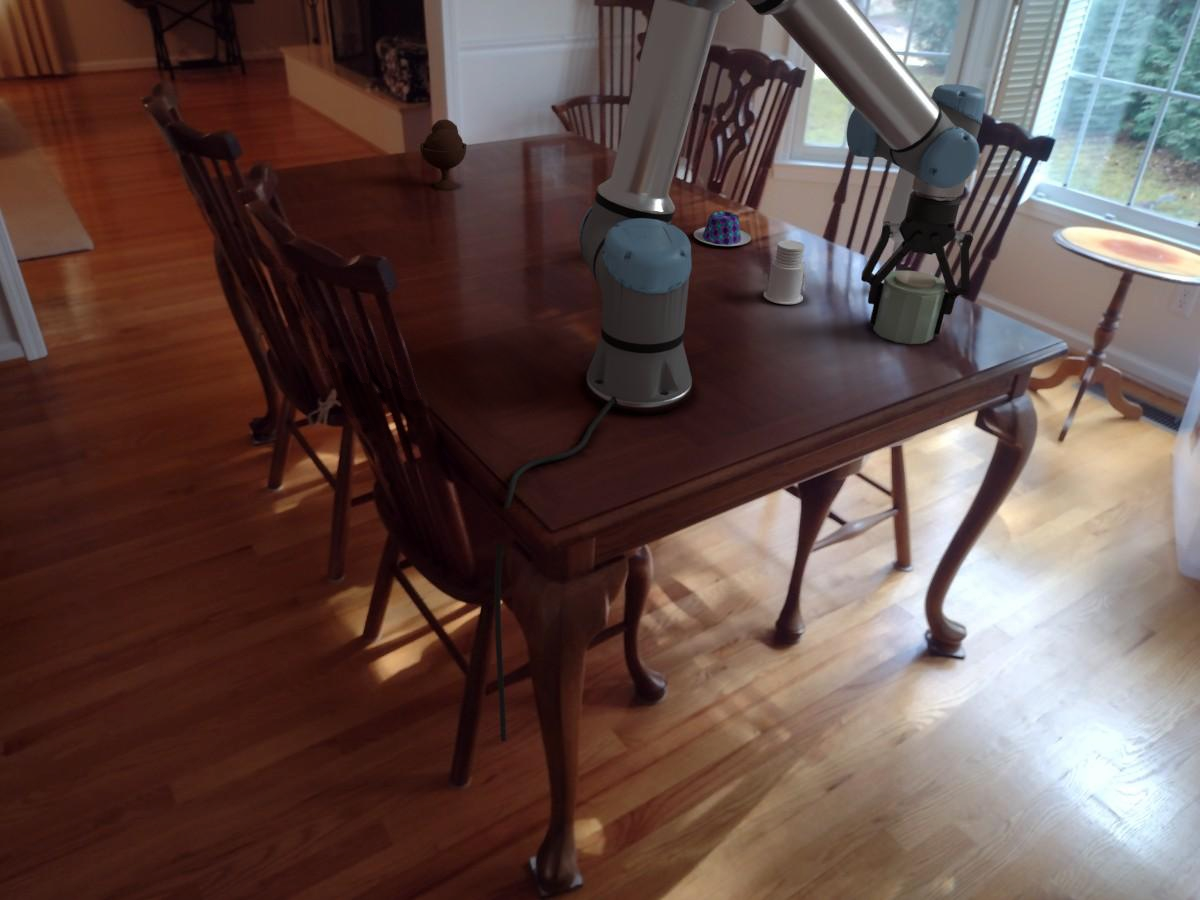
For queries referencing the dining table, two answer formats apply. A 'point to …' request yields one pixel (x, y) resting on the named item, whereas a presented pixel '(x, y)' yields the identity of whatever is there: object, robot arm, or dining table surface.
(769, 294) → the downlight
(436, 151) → the ice cream bowl
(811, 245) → the dining table surface
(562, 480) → the dining table surface
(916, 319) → the green canister
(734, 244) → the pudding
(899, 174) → the champagne flute
